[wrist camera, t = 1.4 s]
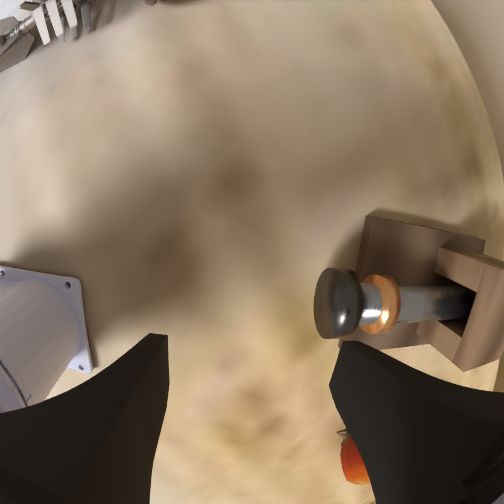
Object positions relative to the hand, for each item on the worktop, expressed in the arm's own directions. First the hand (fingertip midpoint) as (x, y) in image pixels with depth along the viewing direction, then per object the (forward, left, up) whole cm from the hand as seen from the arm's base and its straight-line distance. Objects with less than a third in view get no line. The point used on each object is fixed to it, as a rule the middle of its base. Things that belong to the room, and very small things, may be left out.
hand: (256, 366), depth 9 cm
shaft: (+11, 0, -8) cm, 13 cm away
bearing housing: (+15, 0, -9) cm, 18 cm away
